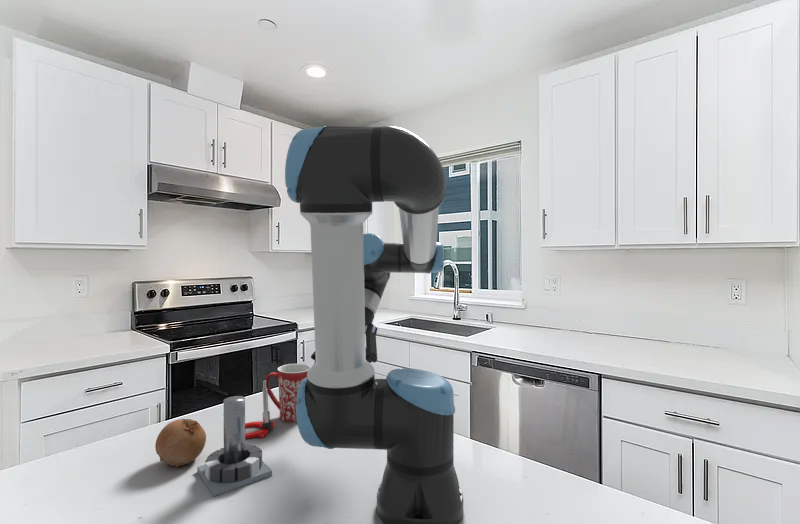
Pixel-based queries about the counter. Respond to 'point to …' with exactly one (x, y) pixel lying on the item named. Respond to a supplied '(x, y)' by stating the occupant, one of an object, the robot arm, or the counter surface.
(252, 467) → the chuck
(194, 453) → the onion
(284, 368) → the mug
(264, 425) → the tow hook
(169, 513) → the counter surface
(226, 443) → the steel rod
